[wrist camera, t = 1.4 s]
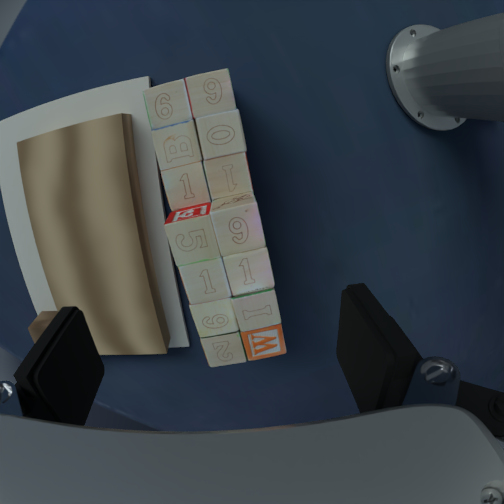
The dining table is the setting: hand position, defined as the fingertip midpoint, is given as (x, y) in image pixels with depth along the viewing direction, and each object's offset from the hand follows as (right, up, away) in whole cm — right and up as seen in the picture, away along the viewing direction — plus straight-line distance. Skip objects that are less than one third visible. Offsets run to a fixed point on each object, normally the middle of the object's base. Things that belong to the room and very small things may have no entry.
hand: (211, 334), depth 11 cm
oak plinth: (-15, +4, +20) cm, 26 cm away
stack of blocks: (-2, +8, +21) cm, 23 cm away
